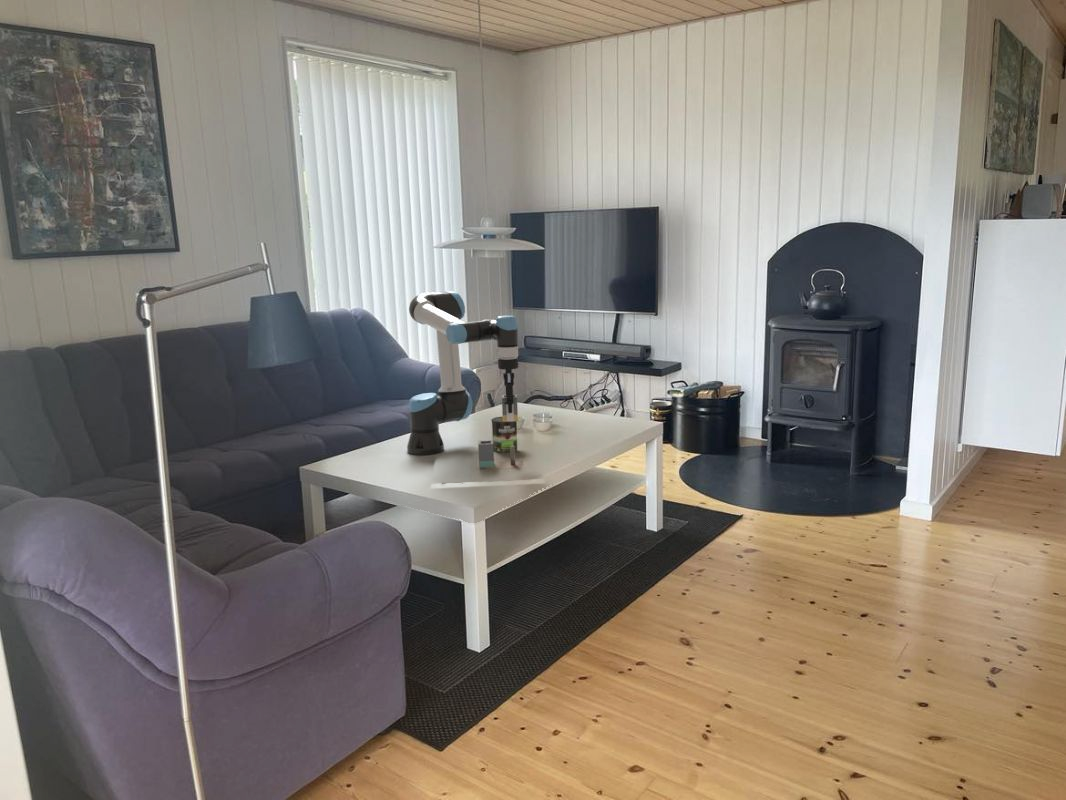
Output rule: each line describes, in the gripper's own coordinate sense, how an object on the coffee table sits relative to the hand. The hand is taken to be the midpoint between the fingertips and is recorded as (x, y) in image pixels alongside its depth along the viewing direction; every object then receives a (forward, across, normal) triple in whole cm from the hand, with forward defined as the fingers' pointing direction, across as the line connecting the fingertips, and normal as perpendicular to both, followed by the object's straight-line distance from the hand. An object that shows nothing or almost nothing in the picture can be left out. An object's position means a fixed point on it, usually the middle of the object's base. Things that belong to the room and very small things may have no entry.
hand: (510, 419), depth 305 cm
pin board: (+19, 0, -5) cm, 20 cm away
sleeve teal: (+18, 0, -10) cm, 20 cm away
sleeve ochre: (0, 0, 0) cm, 0 cm away
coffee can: (+19, -24, -2) cm, 31 cm away
